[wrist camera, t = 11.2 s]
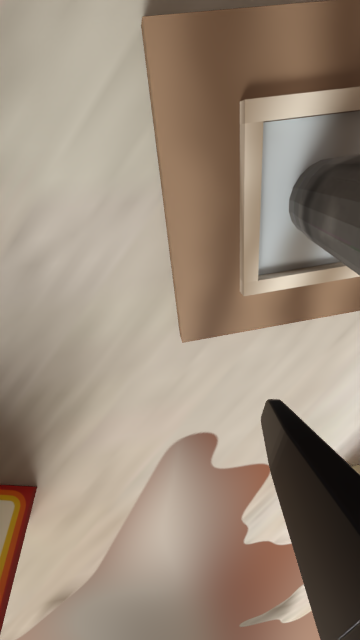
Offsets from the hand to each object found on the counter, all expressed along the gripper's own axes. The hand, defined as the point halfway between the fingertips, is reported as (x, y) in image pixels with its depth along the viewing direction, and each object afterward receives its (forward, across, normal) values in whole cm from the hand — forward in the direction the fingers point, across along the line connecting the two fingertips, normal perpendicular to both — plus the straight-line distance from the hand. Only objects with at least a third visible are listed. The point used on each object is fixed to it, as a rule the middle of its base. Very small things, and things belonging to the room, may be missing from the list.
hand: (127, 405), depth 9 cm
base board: (+14, -11, -5) cm, 18 cm away
